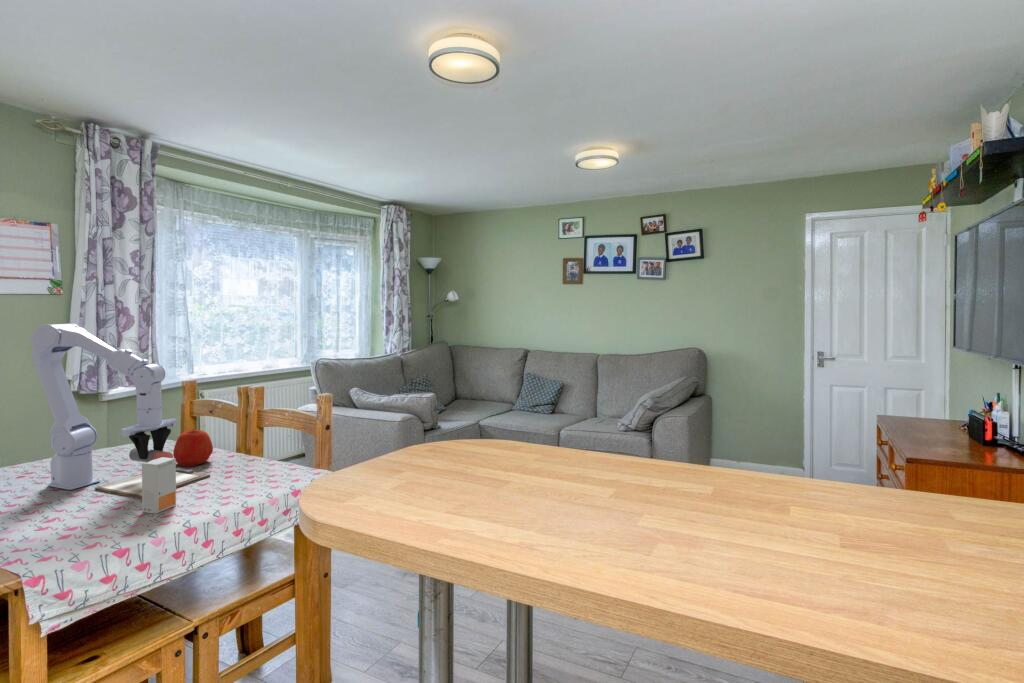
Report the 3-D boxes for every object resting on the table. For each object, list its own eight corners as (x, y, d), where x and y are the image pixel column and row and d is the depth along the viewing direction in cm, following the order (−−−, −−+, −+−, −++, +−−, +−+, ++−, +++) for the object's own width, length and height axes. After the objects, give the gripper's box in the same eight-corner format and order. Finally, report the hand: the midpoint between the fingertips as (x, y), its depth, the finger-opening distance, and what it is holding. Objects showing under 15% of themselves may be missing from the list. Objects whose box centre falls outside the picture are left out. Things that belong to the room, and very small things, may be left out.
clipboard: (94, 489, 146) (94, 485, 146) (165, 469, 165) (165, 465, 165) (142, 499, 140) (142, 494, 140) (210, 476, 159) (210, 472, 158)
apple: (220, 461, 173) (219, 428, 173) (185, 470, 164) (184, 435, 163) (201, 456, 179) (200, 424, 178) (166, 464, 170) (165, 430, 169)
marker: (129, 462, 152) (124, 452, 151) (141, 455, 155) (136, 444, 154) (163, 468, 148) (158, 457, 146) (174, 460, 151) (170, 449, 150)
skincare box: (157, 514, 130) (155, 464, 129) (141, 512, 131) (140, 463, 130) (177, 505, 136) (176, 457, 135) (162, 503, 137) (161, 456, 136)
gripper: (133, 414, 142) (135, 465, 143) (184, 404, 155) (185, 451, 156) (114, 411, 144) (116, 462, 145) (166, 402, 158) (167, 449, 159)
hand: (150, 456), depth 151 cm, fingers closed on marker, 4 cm apart
